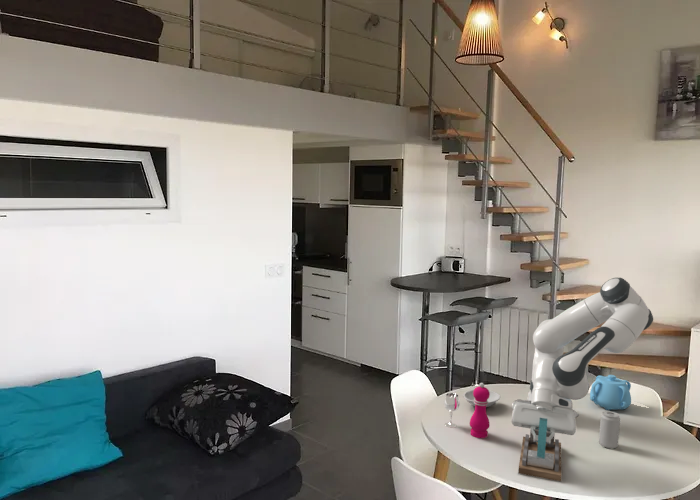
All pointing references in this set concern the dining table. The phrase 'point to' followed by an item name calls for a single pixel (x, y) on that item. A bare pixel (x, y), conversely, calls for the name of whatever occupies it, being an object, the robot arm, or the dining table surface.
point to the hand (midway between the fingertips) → (541, 442)
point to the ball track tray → (550, 448)
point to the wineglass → (451, 406)
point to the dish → (491, 400)
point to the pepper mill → (480, 413)
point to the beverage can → (609, 429)
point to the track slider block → (541, 449)
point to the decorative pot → (611, 392)
